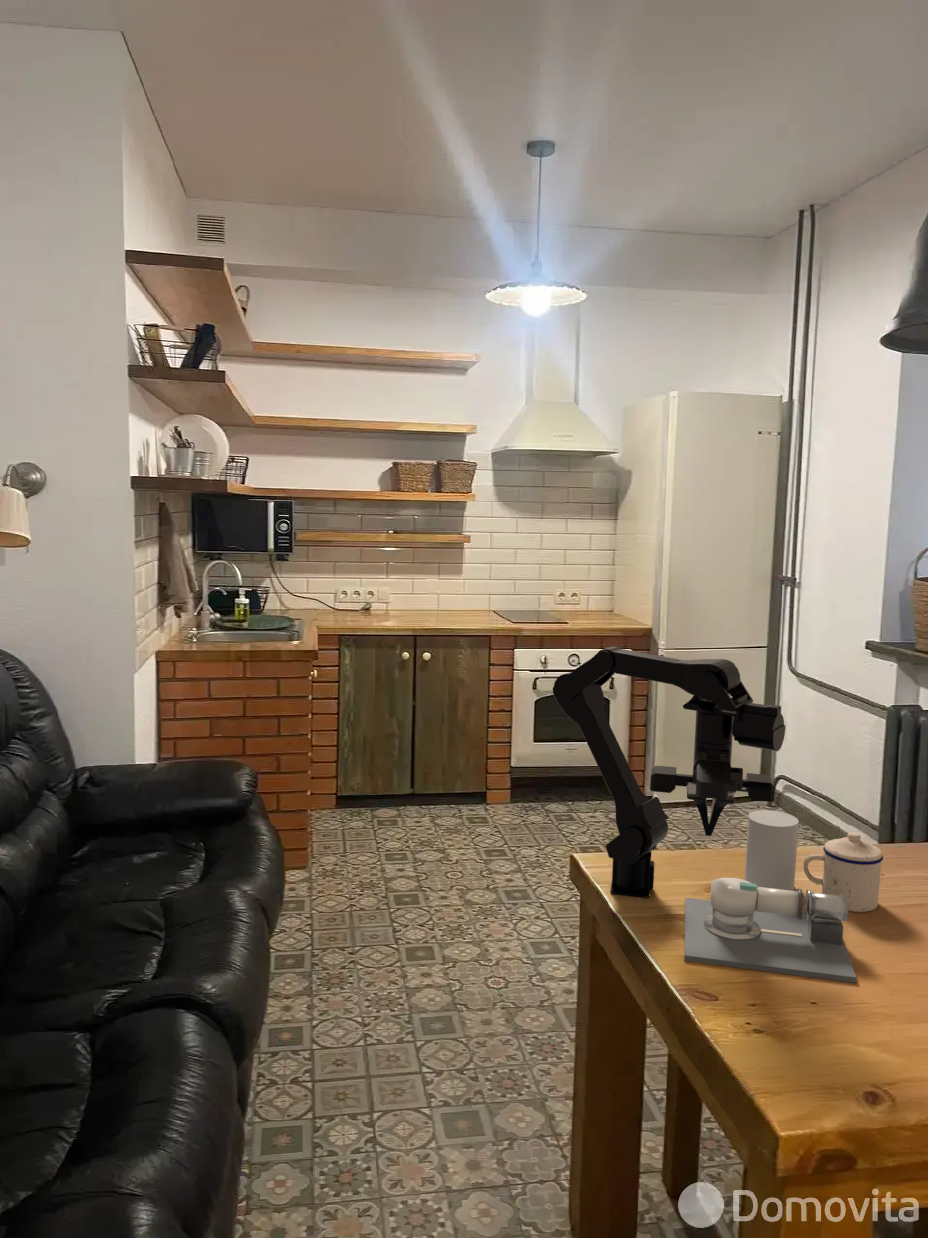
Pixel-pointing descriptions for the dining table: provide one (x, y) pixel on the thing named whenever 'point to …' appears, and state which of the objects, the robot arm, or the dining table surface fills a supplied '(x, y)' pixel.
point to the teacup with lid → (850, 871)
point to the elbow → (753, 898)
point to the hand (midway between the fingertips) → (708, 835)
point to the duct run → (825, 917)
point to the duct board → (766, 946)
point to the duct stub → (732, 926)
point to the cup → (771, 849)
